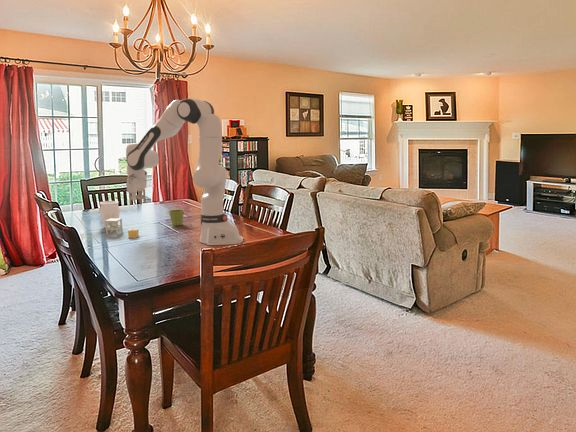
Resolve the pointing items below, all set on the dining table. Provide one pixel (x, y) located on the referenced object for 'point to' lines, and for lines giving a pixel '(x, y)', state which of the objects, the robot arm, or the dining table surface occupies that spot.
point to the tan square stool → (138, 196)
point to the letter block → (133, 233)
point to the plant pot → (177, 217)
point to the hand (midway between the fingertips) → (137, 198)
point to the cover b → (114, 227)
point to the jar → (109, 211)
